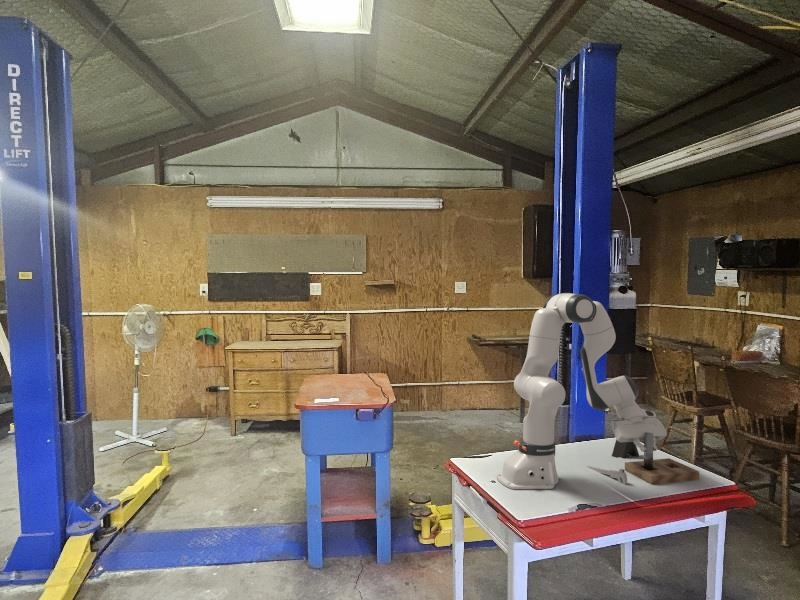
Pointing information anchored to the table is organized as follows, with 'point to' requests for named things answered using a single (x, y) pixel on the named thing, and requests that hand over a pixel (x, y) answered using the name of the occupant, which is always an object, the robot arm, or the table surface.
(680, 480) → the hole block
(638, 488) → the table surface
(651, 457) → the peg
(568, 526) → the table surface
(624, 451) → the black a-frame stand
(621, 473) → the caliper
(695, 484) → the table surface
